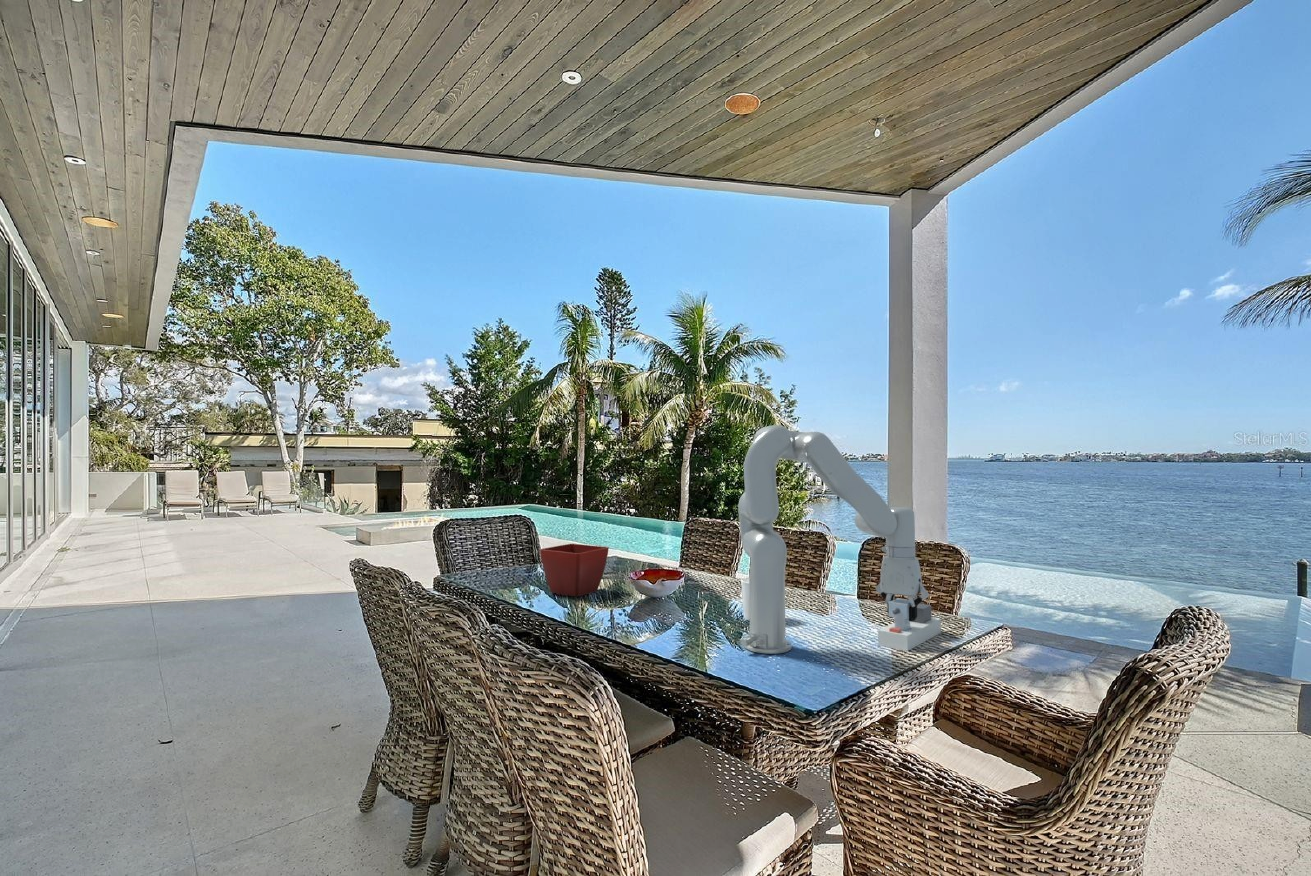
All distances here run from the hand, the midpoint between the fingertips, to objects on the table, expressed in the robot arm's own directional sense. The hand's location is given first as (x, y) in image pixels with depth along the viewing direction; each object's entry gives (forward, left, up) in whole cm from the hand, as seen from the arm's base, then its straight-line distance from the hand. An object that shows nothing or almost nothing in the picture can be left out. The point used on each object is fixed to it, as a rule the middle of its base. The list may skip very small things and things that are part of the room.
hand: (902, 618), depth 180 cm
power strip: (+6, 0, -7) cm, 9 cm away
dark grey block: (+12, 0, -7) cm, 14 cm away
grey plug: (0, 0, -4) cm, 4 cm away
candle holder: (-4, +45, -7) cm, 46 cm away
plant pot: (-18, +118, -7) cm, 120 cm away
